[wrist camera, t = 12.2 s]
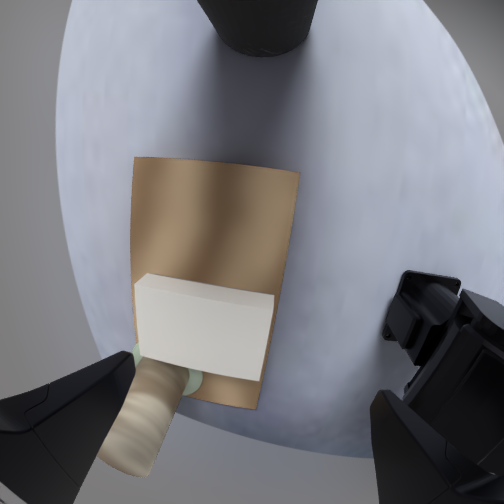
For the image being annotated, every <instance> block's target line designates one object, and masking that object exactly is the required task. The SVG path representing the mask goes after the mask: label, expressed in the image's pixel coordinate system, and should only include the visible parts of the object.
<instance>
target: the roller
mask: <svg viewBox="0 0 504 504" xmlns="http://www.w3.org/2000/svg"><path fill="white" fill-rule="evenodd" d="M189 377H190V374H189V370H188V368H186V367H182V366H178V365H174V364H170V363H166V362H162V361H159V360H155V359H151V358H148V357H144V356H143V357H142V359H141V360H140V362H139V363H138V365H137V366H136V373H135V377H134V379H133V381H132V384H131V386H130V389H129V391H128V394H127V396H126V399H125V402H124V404H123V406H122V408H121V410H120V412H119V414H118V416H117V418H116V420H115V421H114V423H113V425H112V427H111V429H110V431H109V433H108V435H107V436H106V438H105V440H104V442H103V444H102V446H101V448H100V450H99V452H98V454H97V457H99V458H100V459H101V460H102V461H104V462H105V463H107V464H108V465H110V466H111V467H113V468H115V469H117V470H119V471H121V472H124V473H126V474H129V475H132V476H136V477H147V476H149V474H150V472H151V469H152V467H153V464H154V462H155V459H156V457H157V455H158V452H159V450H160V447H161V445H162V442H163V440H164V437H165V435H166V433H167V430H168V428H169V426H170V423H171V421H172V418H173V416H174V414H175V411H176V409H177V407H178V404H179V402H180V399H181V397H182V395H183V392H184V390H185V388H186V385H187V383H188V380H189Z"/></svg>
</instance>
